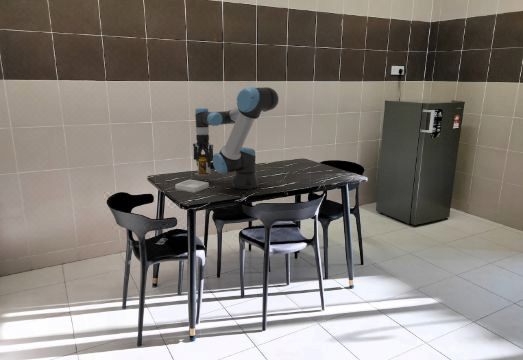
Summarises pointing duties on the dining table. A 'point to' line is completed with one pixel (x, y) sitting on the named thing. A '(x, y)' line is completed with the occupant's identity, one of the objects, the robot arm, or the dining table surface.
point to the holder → (192, 186)
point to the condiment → (202, 165)
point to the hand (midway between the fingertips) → (204, 171)
